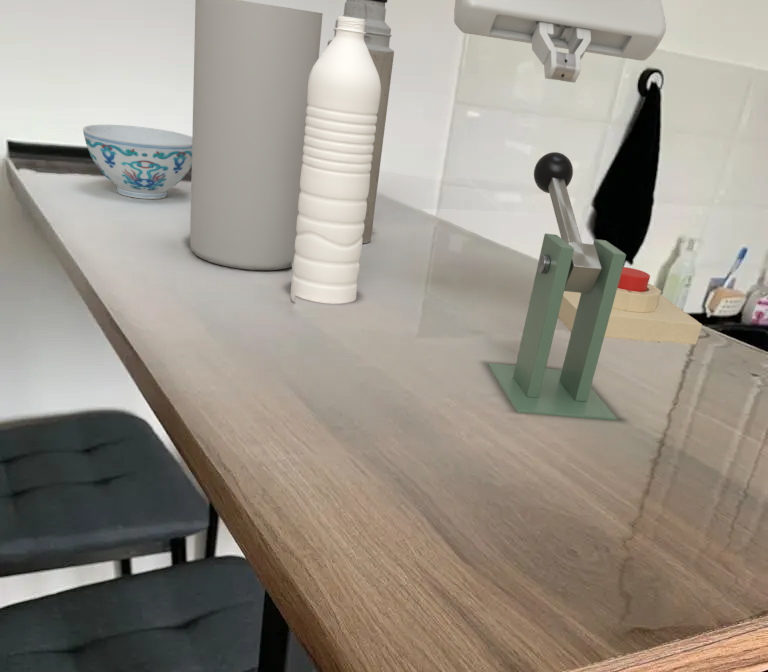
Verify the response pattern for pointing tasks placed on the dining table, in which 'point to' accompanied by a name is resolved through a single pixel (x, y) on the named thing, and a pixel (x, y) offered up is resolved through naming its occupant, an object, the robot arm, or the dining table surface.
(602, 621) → the dining table surface
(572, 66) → the robot arm
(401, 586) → the dining table surface
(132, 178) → the chinaware
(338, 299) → the water bottle
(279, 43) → the cylinder vase
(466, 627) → the dining table surface
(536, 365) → the switch bracket
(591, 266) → the lever
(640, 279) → the stop button
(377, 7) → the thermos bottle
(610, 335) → the tan square base plate
